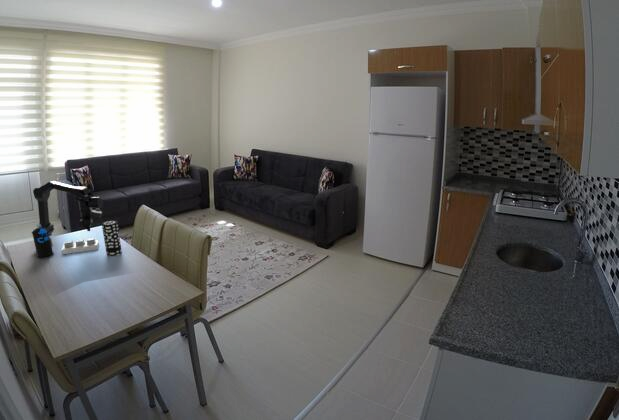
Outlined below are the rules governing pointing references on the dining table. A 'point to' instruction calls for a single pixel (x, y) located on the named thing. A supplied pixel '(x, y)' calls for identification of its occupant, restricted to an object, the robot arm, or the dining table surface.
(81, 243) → the key middle
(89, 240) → the key far
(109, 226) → the spotted tube
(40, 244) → the aerosol can
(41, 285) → the dining table surface
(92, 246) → the keypad
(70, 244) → the key near
